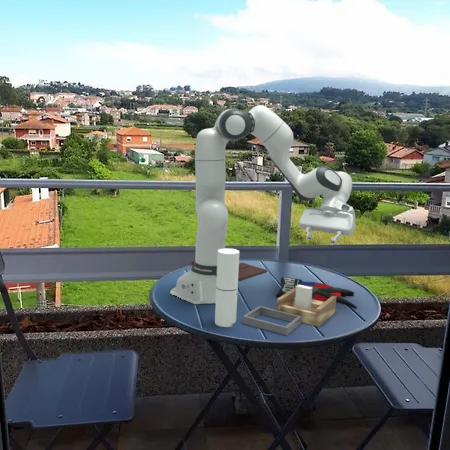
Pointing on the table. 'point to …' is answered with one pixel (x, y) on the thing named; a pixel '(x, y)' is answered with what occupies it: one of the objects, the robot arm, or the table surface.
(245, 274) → the notebook
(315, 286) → the black red irregular piece
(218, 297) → the cylindrical container
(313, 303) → the offcut top
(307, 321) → the tray
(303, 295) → the white upright pillar
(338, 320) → the table surface
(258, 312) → the charcoal tray
